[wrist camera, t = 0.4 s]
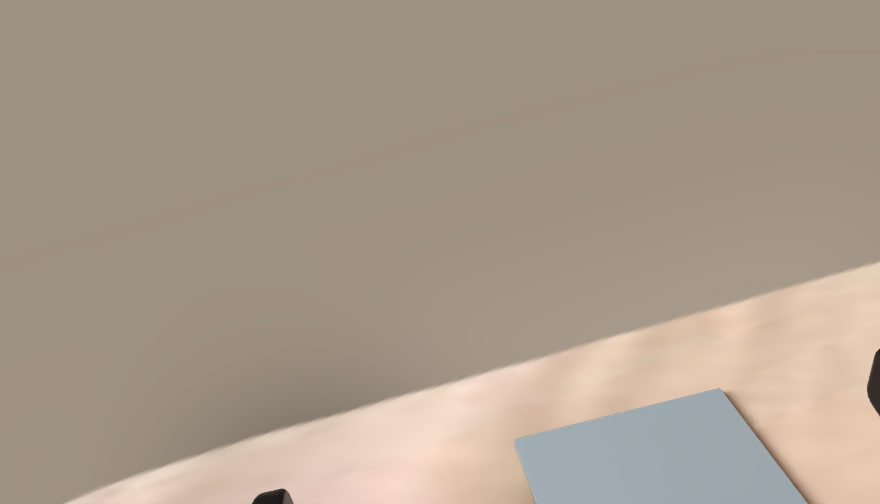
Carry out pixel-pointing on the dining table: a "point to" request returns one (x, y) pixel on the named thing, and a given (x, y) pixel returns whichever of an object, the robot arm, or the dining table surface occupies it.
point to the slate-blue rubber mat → (657, 458)
